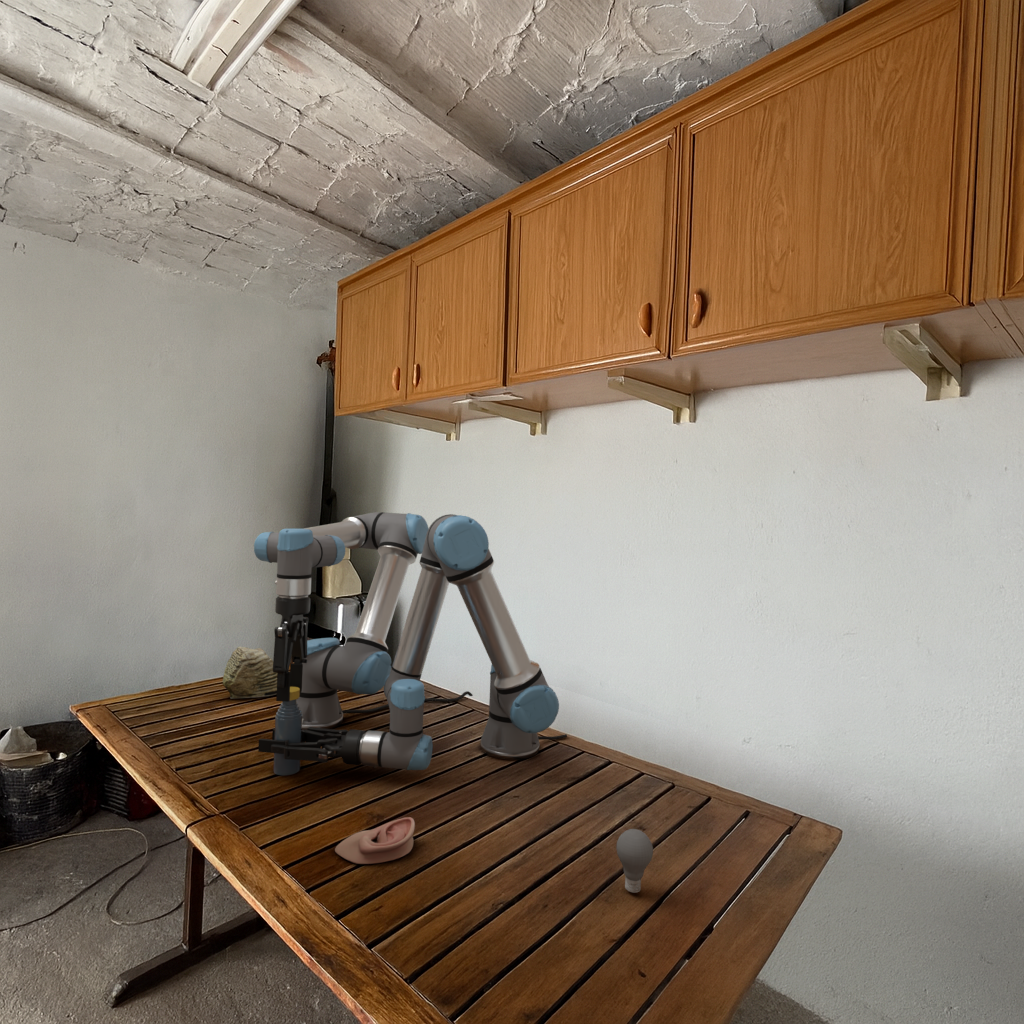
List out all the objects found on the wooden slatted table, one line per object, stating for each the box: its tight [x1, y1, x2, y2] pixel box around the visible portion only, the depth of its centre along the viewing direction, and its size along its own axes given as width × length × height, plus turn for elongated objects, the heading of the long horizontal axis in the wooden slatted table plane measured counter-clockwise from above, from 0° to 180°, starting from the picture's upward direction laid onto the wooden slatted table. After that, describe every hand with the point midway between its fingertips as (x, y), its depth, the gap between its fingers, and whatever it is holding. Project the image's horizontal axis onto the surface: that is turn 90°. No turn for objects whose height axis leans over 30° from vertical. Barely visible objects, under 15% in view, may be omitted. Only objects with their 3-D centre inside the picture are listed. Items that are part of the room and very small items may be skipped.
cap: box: [290, 687, 300, 700], centre depth 146 cm, size 4×4×2 cm
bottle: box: [272, 699, 302, 776], centre depth 146 cm, size 6×6×18 cm
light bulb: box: [615, 828, 654, 894], centre depth 106 cm, size 6×6×10 cm
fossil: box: [222, 646, 277, 699], centre depth 198 cm, size 9×18×15 cm, turn 132°
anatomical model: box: [334, 816, 416, 865], centre depth 115 cm, size 13×4×12 cm
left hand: (289, 695), depth 146 cm, fingers open, 6 cm apart
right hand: (266, 739), depth 146 cm, fingers closed on bottle, 6 cm apart
